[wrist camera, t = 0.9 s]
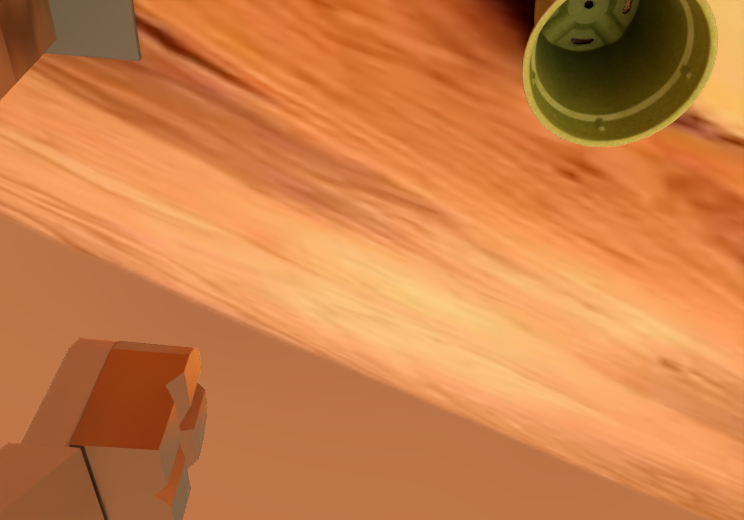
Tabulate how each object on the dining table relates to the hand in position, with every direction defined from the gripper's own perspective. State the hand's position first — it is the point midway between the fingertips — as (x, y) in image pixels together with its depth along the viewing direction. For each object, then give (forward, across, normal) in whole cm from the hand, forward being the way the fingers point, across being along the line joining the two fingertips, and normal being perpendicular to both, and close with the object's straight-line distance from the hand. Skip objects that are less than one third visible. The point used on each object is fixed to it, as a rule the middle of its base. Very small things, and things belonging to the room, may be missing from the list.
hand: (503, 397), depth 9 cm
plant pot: (+36, -10, +7) cm, 38 cm away
